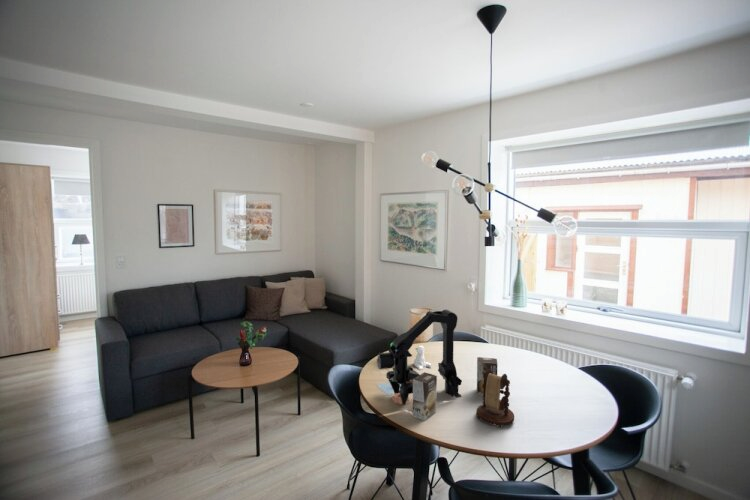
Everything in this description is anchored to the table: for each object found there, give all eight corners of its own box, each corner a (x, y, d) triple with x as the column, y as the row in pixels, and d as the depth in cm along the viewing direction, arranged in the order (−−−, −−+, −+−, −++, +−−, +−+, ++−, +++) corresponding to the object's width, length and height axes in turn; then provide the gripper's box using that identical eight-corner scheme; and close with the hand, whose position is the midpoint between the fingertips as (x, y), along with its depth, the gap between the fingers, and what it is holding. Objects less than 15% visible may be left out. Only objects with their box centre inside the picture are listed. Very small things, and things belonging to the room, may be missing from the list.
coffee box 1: (425, 421, 149) (425, 383, 147) (411, 416, 153) (412, 378, 151) (436, 412, 156) (437, 375, 154) (423, 407, 160) (424, 371, 159)
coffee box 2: (496, 391, 174) (497, 358, 173) (497, 397, 168) (498, 363, 167) (476, 389, 177) (477, 356, 175) (476, 395, 171) (477, 361, 169)
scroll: (469, 418, 151) (470, 371, 149) (487, 405, 161) (488, 361, 159) (503, 433, 140) (505, 383, 139) (520, 418, 151) (522, 371, 149)
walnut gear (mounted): (422, 383, 180) (422, 374, 180) (413, 388, 175) (413, 379, 175) (411, 379, 185) (411, 370, 184) (402, 383, 180) (402, 374, 180)
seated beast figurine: (420, 372, 196) (420, 350, 195) (408, 367, 203) (409, 346, 202) (432, 367, 202) (432, 346, 201) (420, 362, 209) (421, 342, 208)
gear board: (428, 389, 177) (428, 387, 177) (386, 397, 169) (386, 395, 169) (416, 378, 188) (416, 377, 188) (376, 386, 180) (376, 384, 180)
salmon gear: (410, 404, 162) (410, 397, 162) (397, 407, 160) (397, 400, 159) (404, 397, 168) (404, 391, 168) (390, 400, 166) (390, 394, 166)
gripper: (427, 371, 157) (427, 406, 158) (407, 356, 174) (407, 388, 176) (404, 375, 153) (403, 411, 154) (385, 359, 170) (385, 392, 171)
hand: (400, 400), depth 164 cm, fingers closed on salmon gear, 7 cm apart
